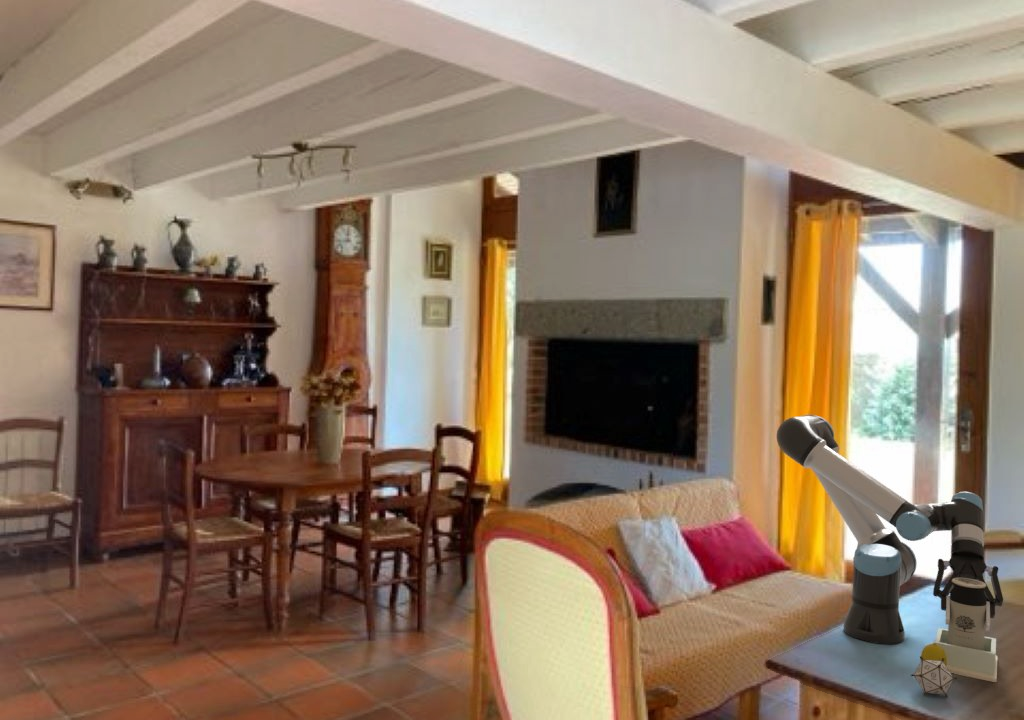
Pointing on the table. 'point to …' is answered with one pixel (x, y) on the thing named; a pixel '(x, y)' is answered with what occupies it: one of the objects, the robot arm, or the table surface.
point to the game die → (934, 676)
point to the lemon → (934, 653)
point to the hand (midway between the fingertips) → (967, 625)
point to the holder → (970, 658)
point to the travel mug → (967, 613)
